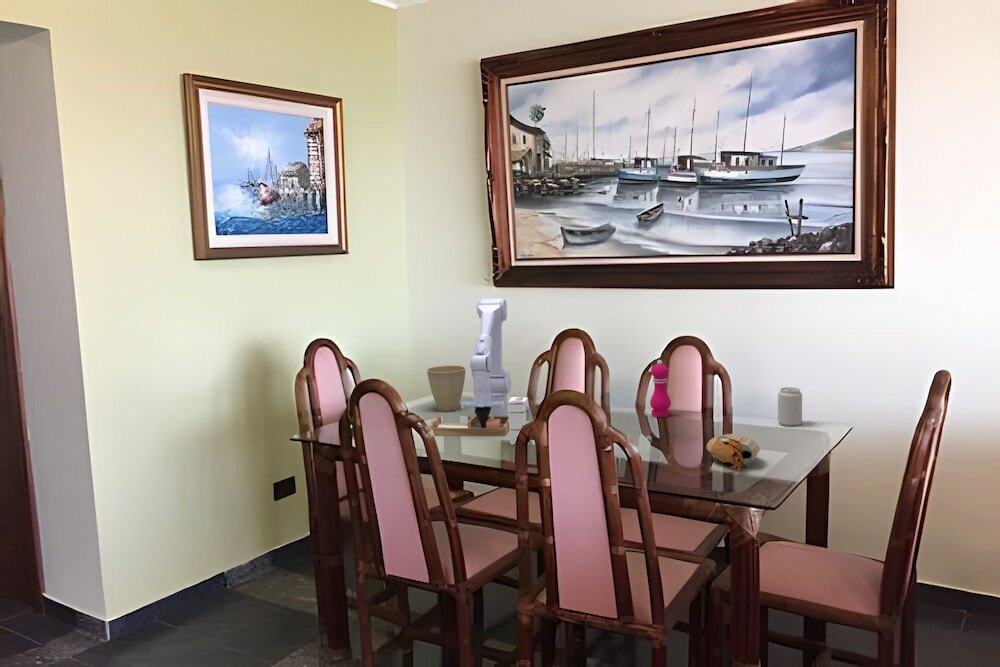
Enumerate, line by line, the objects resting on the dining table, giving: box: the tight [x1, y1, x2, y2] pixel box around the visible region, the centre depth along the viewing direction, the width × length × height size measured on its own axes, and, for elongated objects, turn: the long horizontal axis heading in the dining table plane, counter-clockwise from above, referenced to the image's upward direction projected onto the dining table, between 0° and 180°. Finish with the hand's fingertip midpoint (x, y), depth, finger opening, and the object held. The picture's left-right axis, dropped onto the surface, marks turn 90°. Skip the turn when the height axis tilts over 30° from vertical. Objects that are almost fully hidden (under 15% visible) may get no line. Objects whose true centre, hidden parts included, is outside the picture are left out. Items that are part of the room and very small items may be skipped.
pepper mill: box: [649, 359, 672, 418], centre depth 285 cm, size 7×7×20 cm
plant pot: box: [426, 365, 466, 412], centre depth 309 cm, size 15×15×16 cm
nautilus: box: [706, 433, 761, 474], centre depth 227 cm, size 8×22×15 cm
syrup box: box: [508, 396, 530, 446], centre depth 259 cm, size 6×6×14 cm
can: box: [777, 386, 803, 427], centre depth 267 cm, size 8×8×12 cm
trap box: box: [428, 415, 509, 437], centre depth 277 cm, size 17×27×3 cm, turn 80°
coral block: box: [486, 419, 501, 428], centre depth 271 cm, size 4×4×4 cm
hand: (484, 428), depth 273 cm, fingers closed
